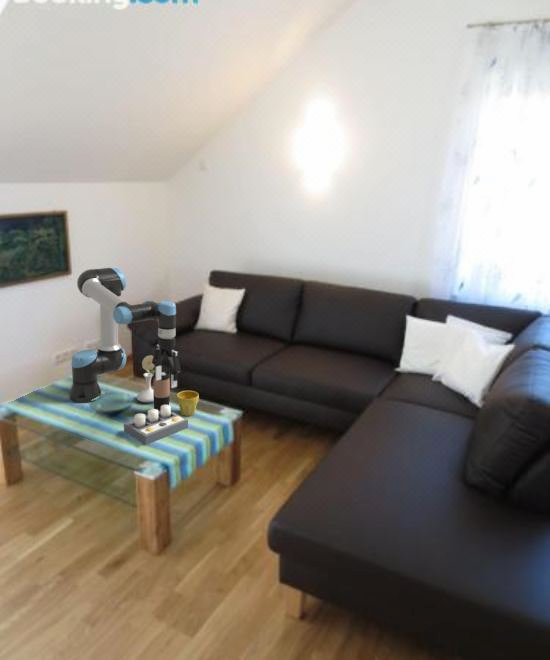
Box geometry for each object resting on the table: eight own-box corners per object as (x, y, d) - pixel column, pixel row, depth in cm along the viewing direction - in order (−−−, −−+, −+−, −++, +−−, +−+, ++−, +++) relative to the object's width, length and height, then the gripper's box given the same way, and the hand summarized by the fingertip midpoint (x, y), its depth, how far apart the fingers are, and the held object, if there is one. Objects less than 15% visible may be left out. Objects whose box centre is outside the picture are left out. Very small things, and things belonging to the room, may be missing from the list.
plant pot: (173, 415, 237) (173, 396, 235) (182, 407, 247) (182, 389, 244) (193, 419, 235) (193, 400, 232) (201, 410, 245) (202, 392, 242)
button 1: (132, 425, 217) (132, 415, 216) (141, 422, 221) (141, 412, 220) (138, 429, 215) (138, 419, 213) (147, 426, 218) (147, 415, 217)
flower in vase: (132, 398, 252) (132, 352, 246) (152, 393, 260) (152, 348, 253) (145, 407, 243) (145, 359, 237) (165, 402, 251) (166, 355, 244)
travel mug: (155, 415, 236) (155, 376, 231) (151, 408, 242) (151, 370, 237) (171, 413, 240) (171, 374, 234) (166, 406, 246) (167, 369, 241)
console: (123, 431, 219) (123, 423, 218) (165, 416, 236) (165, 408, 235) (145, 445, 209) (145, 436, 208) (187, 428, 226) (188, 420, 225)
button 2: (145, 421, 223) (145, 410, 221) (154, 418, 226) (154, 408, 225) (152, 424, 220) (152, 414, 219) (160, 421, 223) (160, 411, 222)
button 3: (158, 416, 228) (158, 406, 227) (166, 413, 231) (166, 403, 230) (164, 419, 225) (164, 409, 224) (172, 416, 229) (172, 407, 227)
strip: (139, 431, 212) (139, 429, 212) (178, 416, 228) (178, 415, 228) (145, 434, 209) (145, 433, 209) (184, 419, 225) (184, 418, 225)
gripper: (143, 332, 222) (143, 378, 228) (176, 344, 208) (175, 393, 214) (157, 329, 228) (157, 374, 234) (190, 341, 214) (189, 388, 220)
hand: (166, 383), depth 224 cm, fingers open, 10 cm apart
